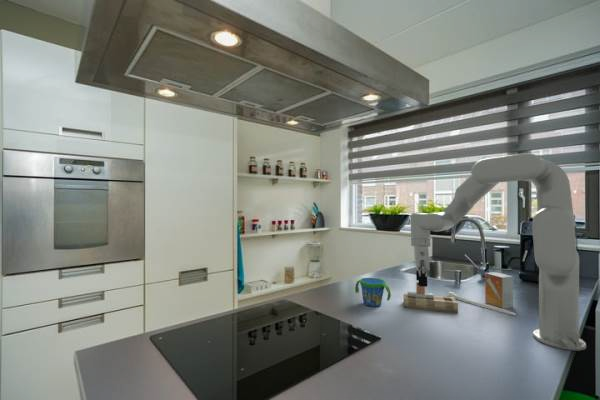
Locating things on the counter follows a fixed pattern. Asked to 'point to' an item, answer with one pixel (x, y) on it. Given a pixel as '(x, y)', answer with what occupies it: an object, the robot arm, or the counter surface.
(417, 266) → the robot arm
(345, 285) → the counter surface
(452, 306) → the rail
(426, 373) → the counter surface
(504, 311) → the spatula
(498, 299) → the small box
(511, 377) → the counter surface
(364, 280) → the snack cup
